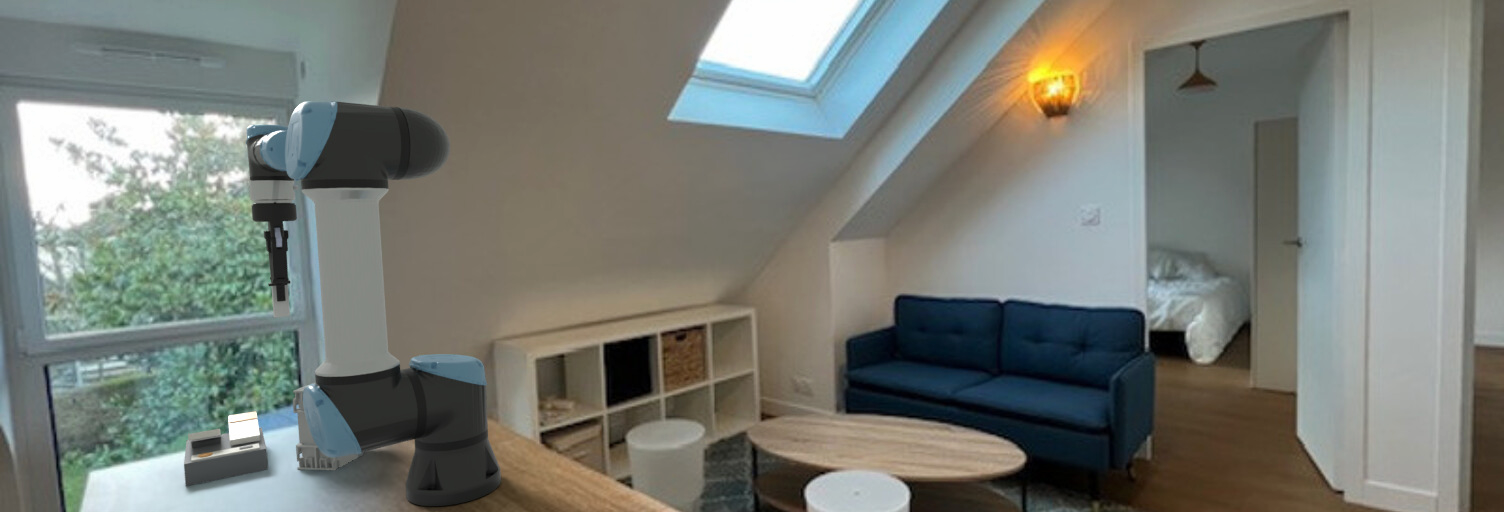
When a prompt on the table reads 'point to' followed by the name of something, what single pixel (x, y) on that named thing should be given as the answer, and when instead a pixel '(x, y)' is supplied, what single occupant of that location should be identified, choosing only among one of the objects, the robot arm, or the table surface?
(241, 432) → the rocker right
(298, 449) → the circuit breaker
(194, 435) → the rocker left
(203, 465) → the switch unit
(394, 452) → the table surface
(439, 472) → the robot arm
